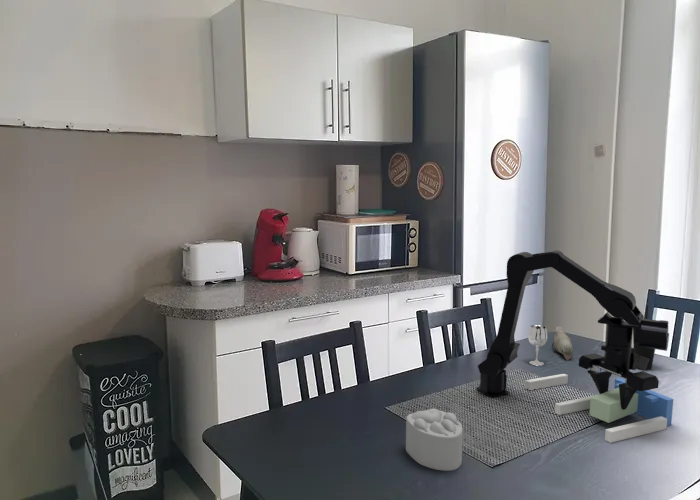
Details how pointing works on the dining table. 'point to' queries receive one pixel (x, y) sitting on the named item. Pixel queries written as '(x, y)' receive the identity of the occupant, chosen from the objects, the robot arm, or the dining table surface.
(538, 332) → the wineglass
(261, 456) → the dining table surface
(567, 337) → the decorative bird
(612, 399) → the plug block
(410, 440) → the lumpy-topped squat cylinder
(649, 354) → the drinking cup
